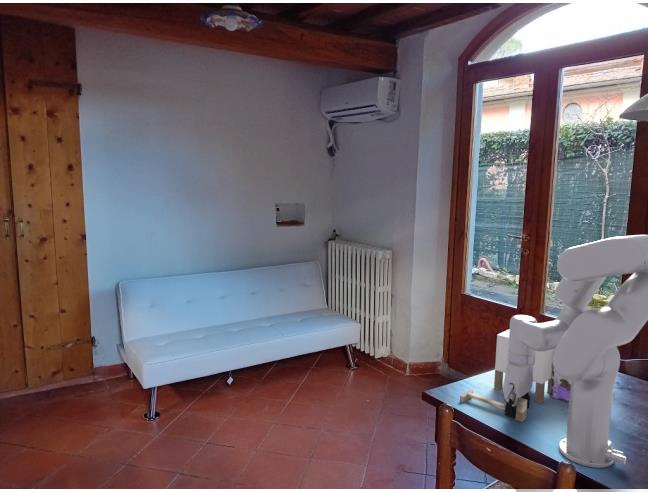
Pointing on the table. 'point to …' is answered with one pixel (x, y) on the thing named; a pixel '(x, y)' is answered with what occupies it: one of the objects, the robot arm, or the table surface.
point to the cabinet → (540, 368)
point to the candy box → (560, 387)
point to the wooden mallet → (499, 404)
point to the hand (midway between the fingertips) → (517, 412)
